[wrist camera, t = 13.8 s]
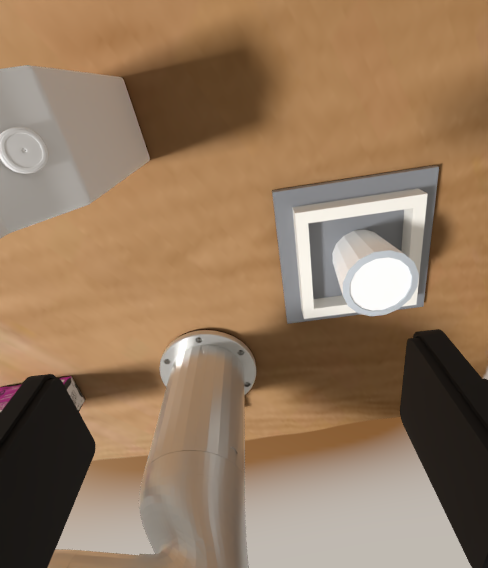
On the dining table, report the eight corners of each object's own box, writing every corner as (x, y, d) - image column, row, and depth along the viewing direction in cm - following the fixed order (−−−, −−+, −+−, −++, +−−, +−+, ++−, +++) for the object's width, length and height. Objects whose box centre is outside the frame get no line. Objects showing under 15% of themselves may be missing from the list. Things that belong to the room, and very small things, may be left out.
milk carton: (83, 176, 34) (-68, 255, 18) (48, 96, 31) (-178, 101, 14) (151, 160, 34) (61, 226, 17) (123, 76, 30) (-23, 57, 14)
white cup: (319, 235, 37) (335, 264, 30) (385, 214, 35) (415, 240, 29) (333, 289, 40) (350, 325, 34) (394, 271, 39) (423, 305, 32)
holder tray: (420, 302, 42) (431, 316, 39) (286, 319, 43) (289, 333, 40) (435, 165, 34) (449, 170, 31) (272, 190, 35) (274, 197, 33)
